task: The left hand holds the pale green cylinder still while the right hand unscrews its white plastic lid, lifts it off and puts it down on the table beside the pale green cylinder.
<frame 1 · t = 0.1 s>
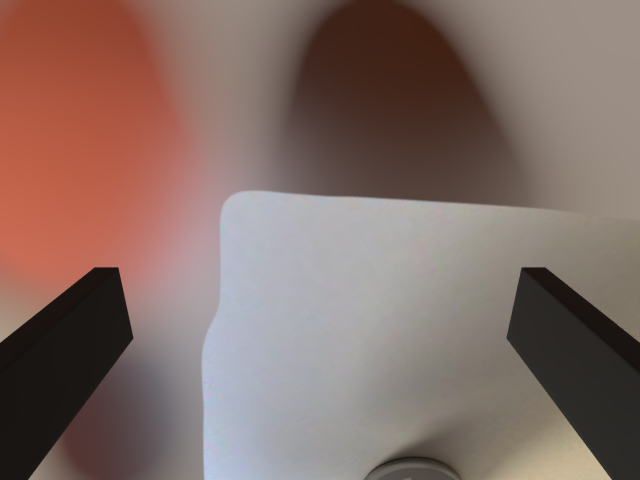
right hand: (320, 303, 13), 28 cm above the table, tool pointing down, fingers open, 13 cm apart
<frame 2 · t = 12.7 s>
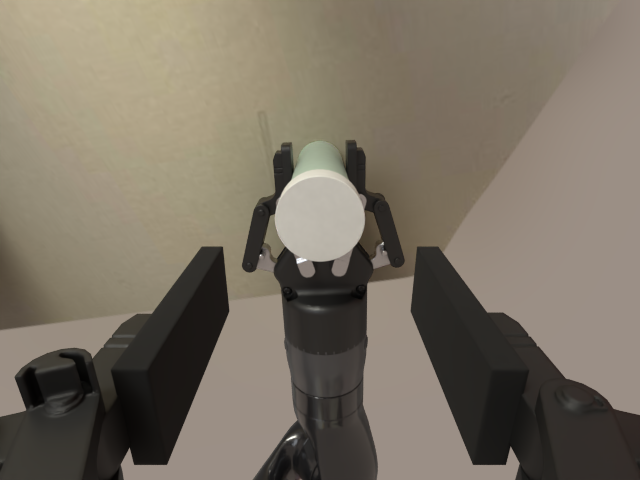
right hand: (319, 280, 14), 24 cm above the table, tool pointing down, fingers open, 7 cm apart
lid: (320, 218, 21), point 17 cm above the table, screwed on, not yet turned
pale green cylinder: (320, 163, 36), on the table, touching left hand
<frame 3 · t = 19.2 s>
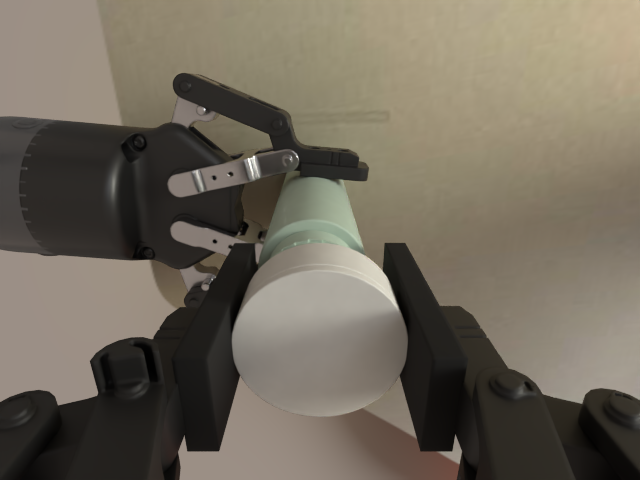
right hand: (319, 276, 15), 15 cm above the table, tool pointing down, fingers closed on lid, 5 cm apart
left hand: (359, 213, 23), fingers closed on pale green cylinder, 4 cm apart
lid: (319, 342, 11), point 19 cm above the table, off its thread, touching right hand
pale green cylinder: (313, 182, 29), on the table, touching right hand, left hand
when the right hand's fingers open (0 cm above the table, at t = 24.8 s): lid drops 3 cm, point 2 cm above the table.
when the left hand's fingers open (7 cm above the table, at t = 25.4 s): pale green cylinder stays where it is, on the table.
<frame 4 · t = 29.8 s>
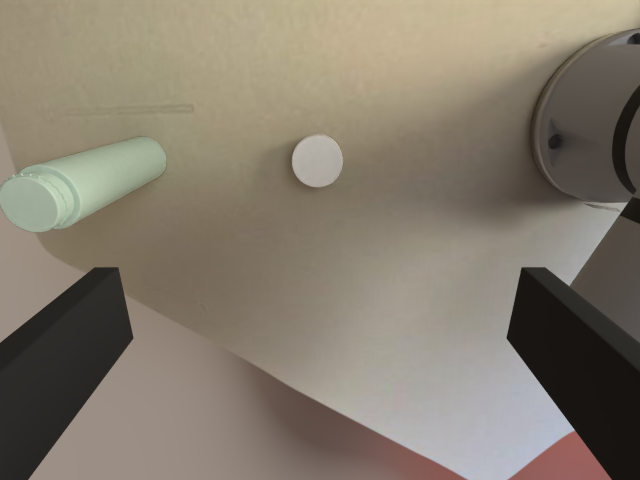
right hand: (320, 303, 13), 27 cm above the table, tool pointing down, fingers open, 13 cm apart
lid: (317, 161, 37), point 2 cm above the table, off its thread
pale green cylinder: (145, 158, 38), on the table
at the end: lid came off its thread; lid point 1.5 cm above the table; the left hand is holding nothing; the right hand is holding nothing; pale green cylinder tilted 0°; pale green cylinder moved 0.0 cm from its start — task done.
